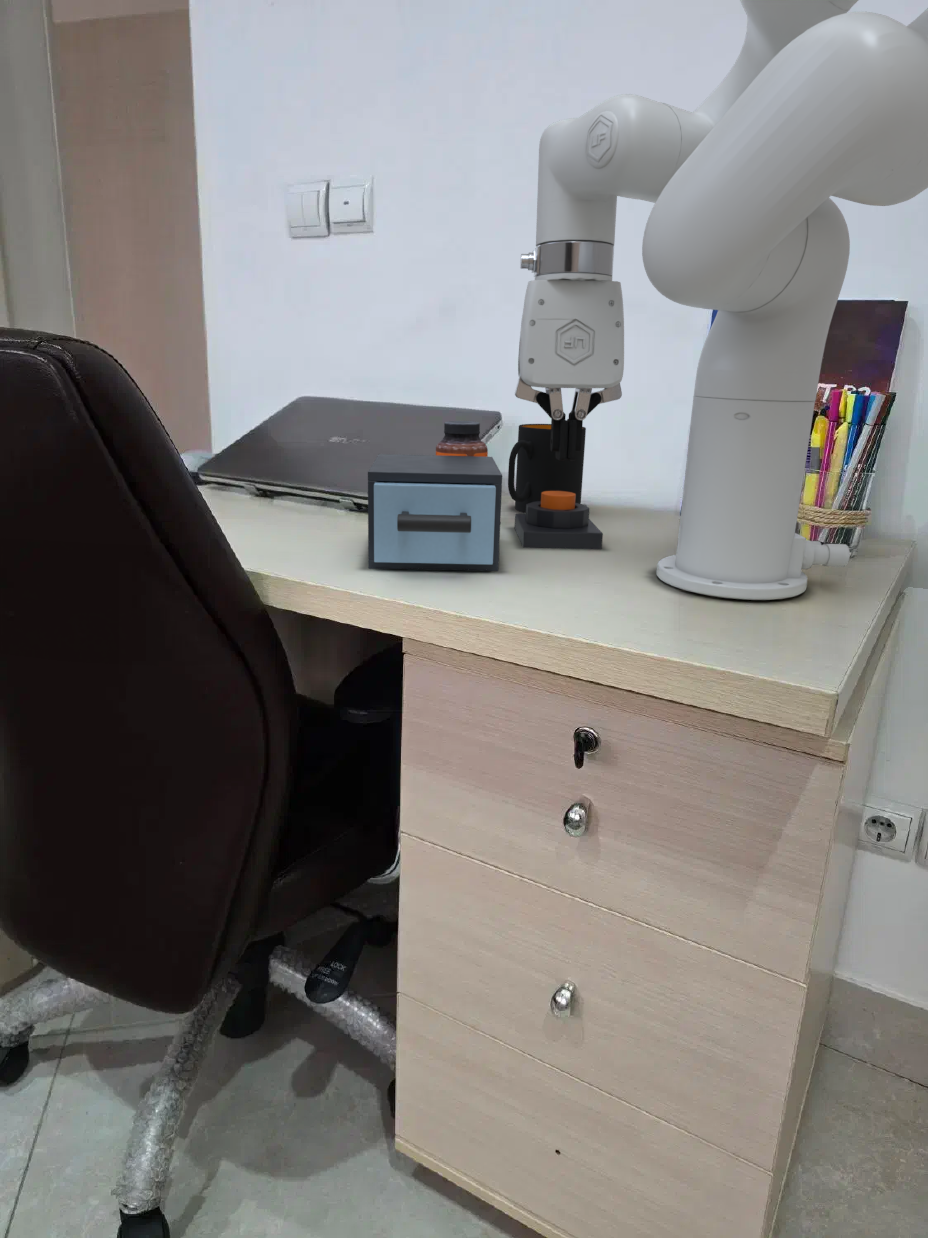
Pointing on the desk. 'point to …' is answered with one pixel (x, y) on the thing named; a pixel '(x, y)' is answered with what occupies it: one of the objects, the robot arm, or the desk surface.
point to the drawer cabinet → (437, 472)
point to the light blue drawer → (434, 522)
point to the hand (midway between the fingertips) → (565, 458)
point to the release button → (558, 500)
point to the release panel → (557, 528)
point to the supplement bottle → (461, 440)
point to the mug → (541, 467)
